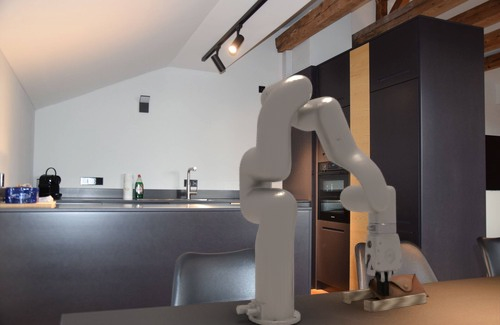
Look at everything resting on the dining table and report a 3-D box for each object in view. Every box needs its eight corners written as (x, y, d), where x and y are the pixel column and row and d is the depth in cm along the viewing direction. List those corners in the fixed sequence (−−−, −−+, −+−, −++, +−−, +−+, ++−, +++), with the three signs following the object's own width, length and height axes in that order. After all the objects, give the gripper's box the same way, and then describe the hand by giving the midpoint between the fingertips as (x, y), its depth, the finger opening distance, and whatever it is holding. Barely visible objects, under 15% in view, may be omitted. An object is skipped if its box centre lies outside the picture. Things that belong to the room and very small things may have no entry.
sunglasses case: (386, 304, 119) (384, 279, 120) (368, 300, 126) (367, 277, 126) (431, 296, 128) (429, 273, 129) (412, 293, 134) (410, 271, 135)
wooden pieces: (371, 312, 111) (371, 302, 111) (342, 301, 121) (342, 292, 122) (426, 302, 120) (426, 293, 121) (394, 293, 131) (394, 285, 131)
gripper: (371, 232, 115) (372, 301, 114) (411, 229, 122) (412, 295, 121) (352, 229, 121) (353, 295, 121) (391, 226, 128) (392, 289, 127)
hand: (383, 294), depth 121 cm, fingers closed
